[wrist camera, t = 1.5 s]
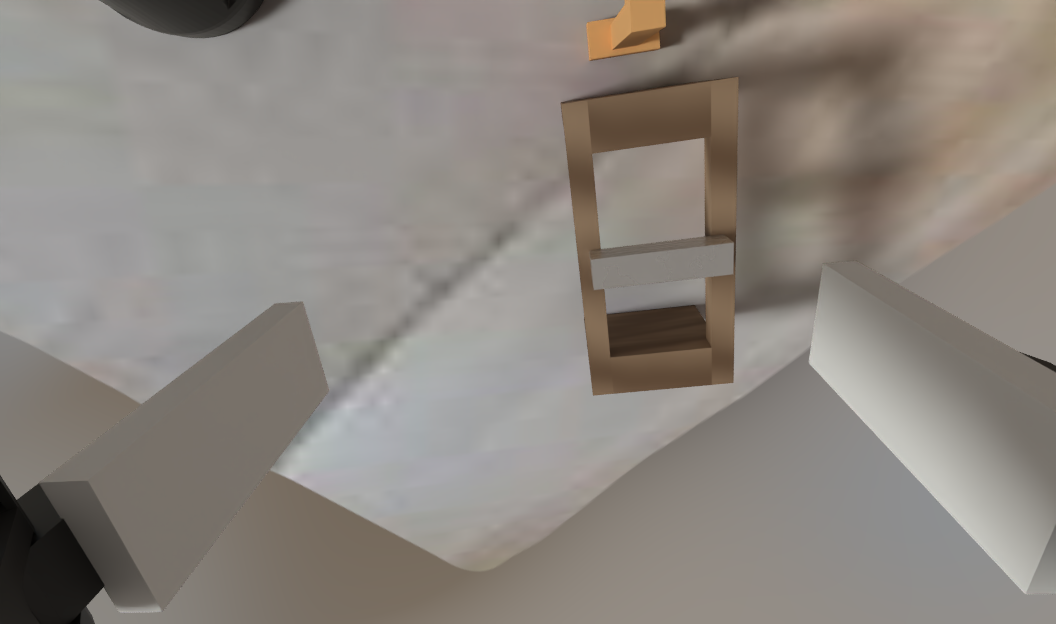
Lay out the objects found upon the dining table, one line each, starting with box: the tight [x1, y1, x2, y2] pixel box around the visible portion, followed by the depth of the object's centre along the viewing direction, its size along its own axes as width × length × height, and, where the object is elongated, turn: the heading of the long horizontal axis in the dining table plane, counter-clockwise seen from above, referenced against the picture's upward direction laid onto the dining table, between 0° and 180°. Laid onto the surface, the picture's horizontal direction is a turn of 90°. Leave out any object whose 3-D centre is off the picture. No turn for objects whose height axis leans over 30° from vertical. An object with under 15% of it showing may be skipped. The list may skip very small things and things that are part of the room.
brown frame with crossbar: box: [561, 77, 739, 395], centre depth 38 cm, size 20×10×11 cm, turn 8°
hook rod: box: [589, 234, 734, 290], centre depth 32 cm, size 2×8×2 cm, turn 98°
